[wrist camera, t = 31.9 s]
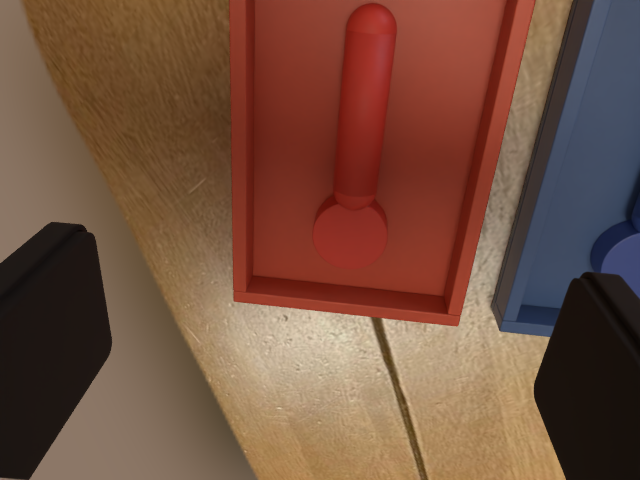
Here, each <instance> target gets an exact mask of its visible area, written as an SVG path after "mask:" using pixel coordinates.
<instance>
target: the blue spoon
mask: <svg viewBox="0 0 640 480" xmlns="http://www.w3.org/2000/svg"><path fill="white" fill-rule="evenodd" d="M591 266H592V268H593V270H594V272H597V273H608V274H617V275H620V276H621V277H622V278H623V279H624V280H625V282H626V283H627V284H628V285H629V287H630V288H631V289H632V290H633V291H634V293H635V294H636V295H637V296H638V297H639V299H640V193H639V196H638V198H637V201H636V204H635V206H634V209H633V212H632V220H628V221H625V222H621V223H619V224H616V225H614V226H613V227H611V228H609V229H608V230H607V231H605V232H604V233H603V234H602V235H601V236H600V237H599V238H598V240H597V241H596V243H595V244H594V246H593V249H592V252H591Z"/></svg>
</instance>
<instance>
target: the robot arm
mask: <svg viewBox="0 0 640 480" xmlns="http://www.w3.org/2000/svg"><path fill="white" fill-rule="evenodd" d="M111 346H112V337H111V331H110V325H109V318H108V312H107V306H106V300H105V294H104V288H103V282H102V276H101V270H100V264H99V257H98V251H97V245H96V240H95V237H94V235H93V234H92V233H89V232H87V230H86V228H85V227H84V226H83V225H79V224H70V223H59V222H51V223H49V224H47V225H46V226H45V227H44V228H43V229H41V230H40V231H39V232H38V233H37V234H35V235H34V236H33V237H32V238H30V239H29V240H28V241H27V242H26V243H24V244H23V245H22V246H21V247H20V248H18V249H17V250H16V251H15V252H14V253H12V254H11V255H10V256H9V257H8V258H6V259H5V260H4V261H3V262H2V263H0V480H29V479H30V477H31V476H32V474H33V473H34V471H35V470H36V468H37V467H38V465H39V463H40V462H41V460H42V459H43V457H44V456H45V454H46V452H47V451H48V450H49V448H50V446H51V444H52V443H53V442H54V440H55V439H56V437H57V435H58V434H59V432H60V431H61V429H62V428H63V426H64V425H65V423H66V422H67V420H68V419H69V417H70V416H71V414H72V412H73V411H74V409H75V408H76V406H77V405H78V403H79V402H80V400H81V398H82V397H83V395H84V394H85V392H86V391H87V389H88V388H89V386H90V385H91V383H92V381H93V380H94V378H95V377H96V375H97V374H98V372H99V370H100V369H101V367H102V366H103V364H104V363H105V361H106V360H107V358H108V356H109V354H110V351H111ZM534 398H535V401H536V404H537V407H538V409H539V412H540V414H541V417H542V419H543V422H544V424H545V427H546V430H547V432H548V435H549V437H550V440H551V442H552V445H553V447H554V450H555V452H556V455H557V457H558V460H559V463H560V465H561V468H562V470H563V473H564V475H565V478H566V480H640V299H639V297H638V296H637V295H636V294H635V293H634V291H633V290H632V289H631V288H630V287H629V285H628V284H627V283H626V282H625V280H624V279H623V278H622V277H621V276H620V275H617V274H608V273H597V272H585V273H583V274H582V275H581V276H580V278H574V279H573V280H572V281H571V282H570V284H569V287H568V290H567V292H566V295H565V298H564V301H563V304H562V306H561V309H560V312H559V315H558V318H557V321H556V323H555V326H554V329H553V332H552V335H551V337H550V340H549V343H548V346H547V349H546V352H545V354H544V357H543V360H542V363H541V366H540V368H539V371H538V374H537V377H536V380H535V383H534Z"/></svg>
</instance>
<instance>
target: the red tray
mask: <svg viewBox="0 0 640 480" xmlns="http://www.w3.org/2000/svg"><path fill="white" fill-rule="evenodd" d="M535 1H536V0H229V26H230V95H231V164H232V233H233V290H234V292H233V294H234V301H235V302H243V303H252V304H261V305H270V306H279V307H288V308H297V309H306V310H315V311H323V312H332V313H341V314H350V315H359V316H368V317H377V318H386V319H395V320H404V321H413V322H422V323H431V324H440V325H449V326H458V325H459V321H460V315H461V313H462V308H463V304H464V300H465V296H466V291H467V287H468V283H469V279H470V275H471V270H472V266H473V262H474V258H475V254H476V249H477V245H478V241H479V237H480V233H481V228H482V224H483V220H484V216H485V211H486V207H487V203H488V199H489V195H490V190H491V186H492V182H493V178H494V174H495V169H496V165H497V161H498V157H499V152H500V148H501V144H502V140H503V136H504V131H505V127H506V123H507V119H508V115H509V110H510V106H511V102H512V98H513V94H514V89H515V85H516V81H517V77H518V72H519V68H520V64H521V60H522V56H523V51H524V47H525V43H526V39H527V35H528V30H529V26H530V22H531V18H532V14H533V9H534V5H535ZM368 3H377V4H381V5H383V6H385V7H386V8H388V9H389V10H390V11H391V13H392V14H393V16H394V18H395V20H396V24H397V36H396V44H395V51H394V59H393V67H392V75H391V83H390V91H389V99H388V107H387V114H386V122H385V130H384V138H383V146H382V154H381V162H380V170H379V178H378V185H377V192H376V196H375V198H374V200H375V201H376V202H377V203H378V204H379V205H380V206H381V207H382V209H383V210H384V212H385V215H386V218H387V228H388V241H387V245H386V248H385V250H384V252H383V254H382V255H381V256H380V257H379V258H378V259H377V260H376V261H375V262H374V263H372V264H370V265H368V266H366V267H363V268H360V269H342V268H338V267H335V266H333V265H331V264H329V263H328V262H326V261H325V260H324V259H323V258H322V257H321V256H320V255H319V254H318V252H317V251H316V249H315V246H314V243H313V239H312V231H313V226H314V222H315V218H316V214H317V212H318V210H319V208H320V207H321V205H322V204H323V203H324V202H325V201H326V200H327V199H329V198H330V197H332V196H334V194H333V179H334V167H335V155H336V143H337V131H338V120H339V108H340V96H341V84H342V72H343V60H344V48H345V36H346V27H347V22H348V20H349V18H350V16H351V14H352V13H353V12H354V11H355V10H356V9H357V8H358V7H360V6H362V5H364V4H368Z"/></svg>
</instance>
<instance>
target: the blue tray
mask: <svg viewBox="0 0 640 480" xmlns="http://www.w3.org/2000/svg"><path fill="white" fill-rule="evenodd" d="M639 193H640V0H574V1H573V5H572V8H571V12H570V16H569V20H568V23H567V27H566V31H565V35H564V38H563V42H562V46H561V49H560V53H559V57H558V61H557V64H556V68H555V72H554V75H553V79H552V83H551V87H550V90H549V94H548V98H547V101H546V105H545V109H544V113H543V116H542V120H541V124H540V128H539V131H538V135H537V139H536V142H535V146H534V150H533V154H532V157H531V161H530V165H529V168H528V172H527V176H526V180H525V183H524V187H523V191H522V195H521V198H520V202H519V206H518V209H517V213H516V217H515V221H514V224H513V228H512V232H511V235H510V239H509V243H508V247H507V250H506V254H505V258H504V262H503V265H502V269H501V273H500V276H499V280H498V284H497V288H496V291H495V295H494V299H493V302H492V306H491V308H492V311H493V314H494V316H495V319H496V322H497V325H498V328H499V331H501V332H510V333H519V334H528V335H537V336H546V337H551V335H552V332H553V329H554V326H555V323H556V321H557V318H558V315H559V312H560V309H561V306H562V304H563V301H564V298H565V295H566V292H567V290H568V287H569V284H570V282H571V281H572V280H573V279H574V278H580V276H581V275H582V274H583V273H585V272H594V270H593V268H592V266H591V252H592V249H593V246H594V244H595V243H596V241H597V240H598V238H599V237H600V236H601V235H602V234H603V233H604V232H605V231H607V230H608V229H609V228H611V227H613V226H614V225H616V224H619V223H621V222H625V221H628V220H632V212H633V209H634V206H635V204H636V201H637V198H638V196H639Z"/></svg>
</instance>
